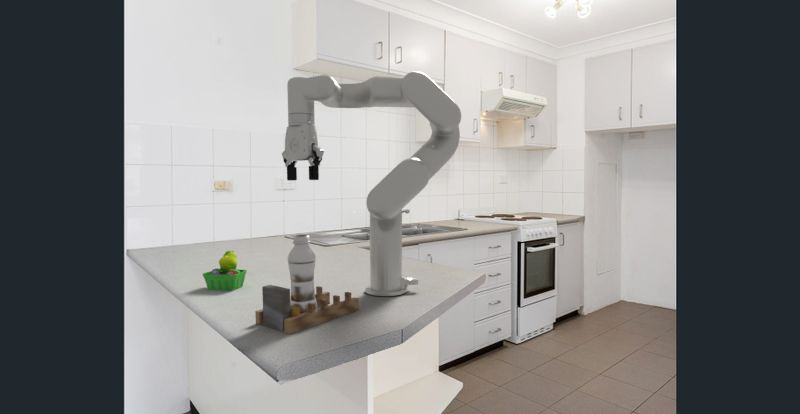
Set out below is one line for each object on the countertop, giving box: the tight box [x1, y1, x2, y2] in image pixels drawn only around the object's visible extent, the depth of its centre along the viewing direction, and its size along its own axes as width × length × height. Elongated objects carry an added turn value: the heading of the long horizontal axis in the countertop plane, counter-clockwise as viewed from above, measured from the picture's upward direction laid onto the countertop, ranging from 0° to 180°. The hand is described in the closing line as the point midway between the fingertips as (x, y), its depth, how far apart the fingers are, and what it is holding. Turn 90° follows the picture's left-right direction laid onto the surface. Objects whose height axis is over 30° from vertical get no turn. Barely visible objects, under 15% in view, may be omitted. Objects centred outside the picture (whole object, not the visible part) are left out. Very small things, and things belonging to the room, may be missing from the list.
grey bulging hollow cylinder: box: [287, 234, 318, 314], centre depth 104 cm, size 6×7×20 cm
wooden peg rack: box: [255, 284, 360, 335], centre depth 106 cm, size 22×12×9 cm, turn 143°
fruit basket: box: [202, 250, 248, 291], centre depth 137 cm, size 11×9×11 cm
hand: (302, 180), depth 129 cm, fingers open, 9 cm apart
